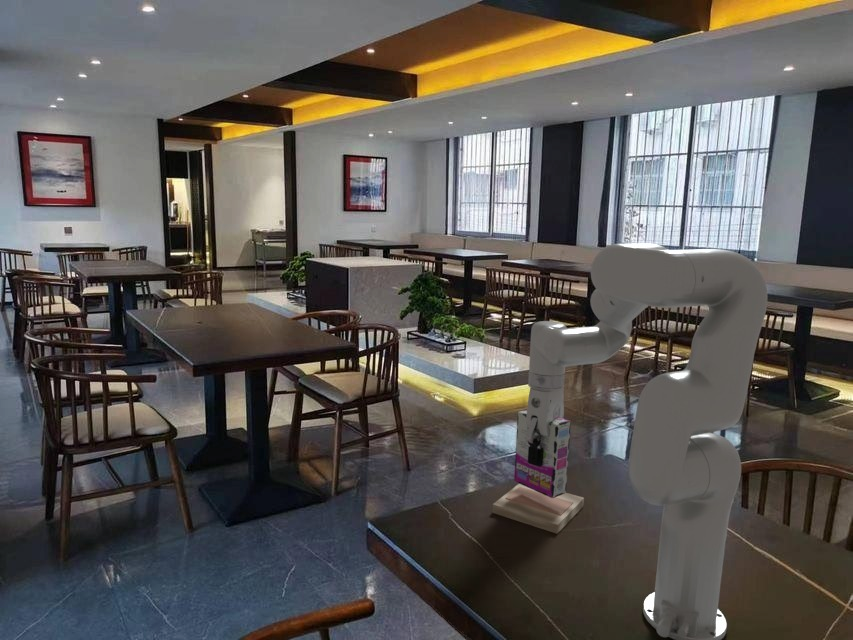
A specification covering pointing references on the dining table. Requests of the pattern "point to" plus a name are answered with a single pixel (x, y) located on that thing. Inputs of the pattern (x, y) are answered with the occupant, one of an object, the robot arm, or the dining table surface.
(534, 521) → the base board
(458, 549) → the dining table surface
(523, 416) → the candy bar box
